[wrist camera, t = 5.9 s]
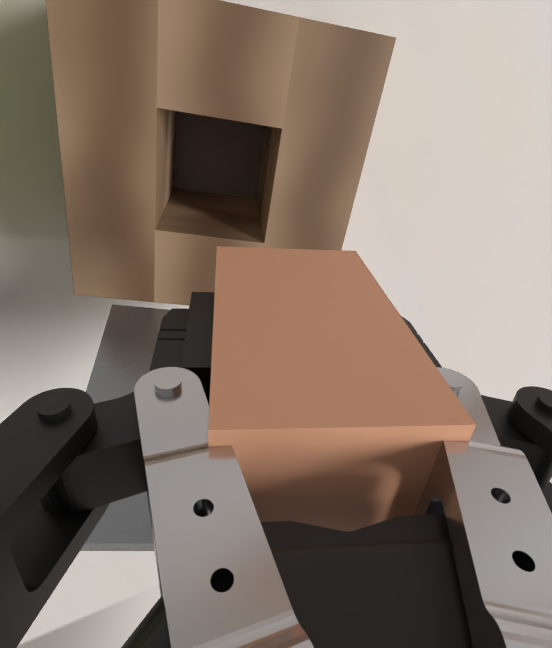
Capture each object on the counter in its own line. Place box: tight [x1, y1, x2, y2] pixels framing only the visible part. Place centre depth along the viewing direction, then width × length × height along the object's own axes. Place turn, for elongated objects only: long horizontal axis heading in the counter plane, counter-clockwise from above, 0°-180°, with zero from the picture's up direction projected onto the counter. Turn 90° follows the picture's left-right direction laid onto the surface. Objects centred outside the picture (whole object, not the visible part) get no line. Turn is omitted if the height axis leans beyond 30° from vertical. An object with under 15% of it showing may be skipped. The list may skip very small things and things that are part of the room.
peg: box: [208, 246, 476, 532], centre depth 10 cm, size 4×4×7 cm
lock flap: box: [80, 305, 170, 551], centre depth 20 cm, size 12×10×1 cm
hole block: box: [45, 0, 396, 305], centre depth 24 cm, size 14×14×8 cm
